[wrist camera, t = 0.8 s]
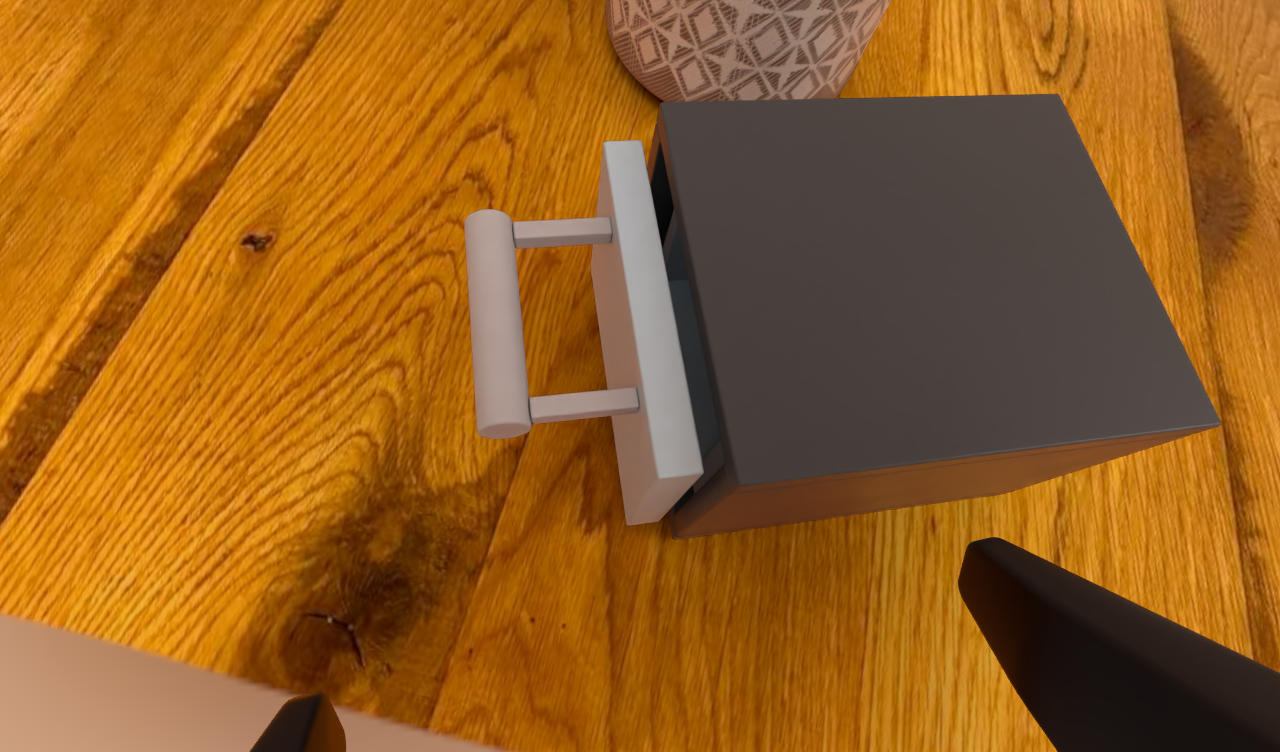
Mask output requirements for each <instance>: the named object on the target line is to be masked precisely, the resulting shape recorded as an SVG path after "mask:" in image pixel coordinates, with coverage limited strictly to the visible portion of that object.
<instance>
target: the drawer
mask: <svg viewBox="0 0 1280 752" xmlns="http://www.w3.org/2000/svg"><path fill="white" fill-rule="evenodd" d="M464 227H465V244H466V260H467V276H468V293H469V309H470V325H471V342H472V358H473V375H474V391H475V407H476V424H477V432H478V434H479V435H480V436H482V437H485V438H491V439H505V438H513V437H517V436H520V435H523V434H525V433H527V432H529V431H530V430H531V427H532V425H531V422H532V423H533V424H538V423H548V422H557V421H567V420H576V419H586V418H596V417H605V416H611V417H612V424H613V431H614V439H615V446H616V453H617V460H618V467H619V474H620V481H621V489H622V496H623V503H624V510H625V517H626V524H627V525H636V524H643V523H651V522H658V521H660V520H661V519H662V518H663V516H664V515H665V514H666V513H667V512H668V511H669V510H670V509H671V508H672V507H673V506H674V504H675V503H676V502H677V501H678V500H679V499H680V498H681V497H682V496H683V495H684V494H685V493H686V491H687V490H688V489H689V488H690V487H691V486H692V485H693V490H694V494H695V493H696V492H697V491H698V490H699V489H700V488H701V487H702V486H703V485H704V484H705V483H706V482H707V481H708V480H709V479H710V478H711V477H712V476H713V475H714V474H715V473H716V472H717V471H718V470H719V469H720V468H721V467H722V466H723V465H724V464H725V459H724V454H723V449H722V444H721V439H720V434H719V429H718V424H717V419H716V414H715V409H714V404H713V399H712V394H711V389H710V384H709V379H708V374H707V369H706V364H705V360H704V355H703V350H702V345H701V340H700V335H699V330H698V325H697V320H696V315H695V310H694V305H693V300H692V295H691V290H690V285H689V280H688V275H687V270H686V265H685V260H684V255H683V250H682V245H681V240H680V235H679V230H678V225H677V220H676V215H675V210H674V211H673V214H672V218H671V221H670V225H669V228H668V232H667V235H666V239H665V243H664V246H663V250H662V245H661V240H660V235H659V229H658V224H657V219H656V213H655V208H654V203H653V197H652V192H651V187H650V181H649V176H648V171H647V165H646V160H645V155H644V149H643V144H642V141H640V140H635V141H606V142H604V144H603V152H602V162H601V172H600V182H599V192H598V202H597V212H596V218H579V219H559V220H539V221H520V222H512V220H511V218H510V217H509V216H508V215H507V214H506V213H504V212H502V211H499V210H493V209H483V210H478V211H475V212H473V213H471V214H470V215H469V216H468V217H467V218H466V220H465V223H464ZM590 244H593V251H592V261H591V274H592V281H593V289H594V296H595V303H596V310H597V317H598V324H599V331H600V339H601V346H602V353H603V360H604V367H605V374H606V381H607V389H608V390H599V391H589V392H579V393H568V394H558V395H548V396H537V397H531V398H530V399H529V393H528V382H527V371H526V360H525V350H524V339H523V328H522V317H521V307H520V296H519V285H518V274H517V263H516V253H515V248H517V249H521V248H538V247H556V246H573V245H590Z"/></svg>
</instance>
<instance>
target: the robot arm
mask: <svg viewBox="0 0 1280 752" xmlns="http://www.w3.org/2000/svg"><path fill="white" fill-rule="evenodd" d="M958 587H959V591H960V594H961V597H962V599H963V601H964V602H965V604H966V606H967V607H968V609H969V611H970V613H971V614H972V616H973V618H974V620H975V621H976V623H977V625H978V627H979V628H980V630H981V632H982V634H983V635H984V637H985V639H986V640H987V642H988V644H989V646H990V647H991V649H992V651H993V653H994V654H995V656H996V658H997V660H998V661H999V663H1000V665H1001V667H1002V668H1003V670H1004V672H1005V673H1006V675H1007V677H1008V679H1009V680H1010V682H1011V684H1012V685H1013V687H1014V688H1015V690H1016V692H1017V693H1018V695H1019V696H1020V698H1021V699H1022V701H1023V702H1024V704H1025V705H1026V707H1027V708H1028V710H1029V711H1030V713H1031V714H1032V716H1033V717H1034V718H1035V720H1036V721H1037V723H1038V724H1039V725H1040V727H1041V728H1042V730H1043V731H1044V733H1045V734H1046V735H1047V737H1048V738H1049V740H1050V741H1051V743H1052V744H1053V745H1054V747H1055V748H1056V750H1057V751H1058V752H1280V673H1278V672H1276V671H1274V670H1272V669H1270V668H1268V667H1266V666H1264V665H1262V664H1260V663H1258V662H1256V661H1254V660H1252V659H1250V658H1247V657H1245V656H1243V655H1241V654H1239V653H1237V652H1235V651H1233V650H1231V649H1229V648H1227V647H1225V646H1223V645H1221V644H1218V643H1216V642H1214V641H1212V640H1210V639H1208V638H1206V637H1204V636H1202V635H1200V634H1198V633H1196V632H1194V631H1192V630H1189V629H1187V628H1185V627H1183V626H1181V625H1179V624H1177V623H1175V622H1173V621H1171V620H1169V619H1167V618H1165V617H1163V616H1161V615H1158V614H1156V613H1154V612H1152V611H1150V610H1148V609H1146V608H1144V607H1142V606H1140V605H1138V604H1136V603H1134V602H1132V601H1129V600H1127V599H1125V598H1123V597H1121V596H1119V595H1117V594H1115V593H1113V592H1111V591H1109V590H1107V589H1105V588H1103V587H1100V586H1098V585H1096V584H1094V583H1092V582H1090V581H1088V580H1086V579H1084V578H1082V577H1080V576H1078V575H1076V574H1074V573H1072V572H1069V571H1067V570H1065V569H1063V568H1061V567H1059V566H1057V565H1055V564H1053V563H1051V562H1049V561H1047V560H1045V559H1043V558H1040V557H1038V556H1036V555H1034V554H1032V553H1030V552H1028V551H1026V550H1024V549H1022V548H1020V547H1018V546H1016V545H1014V544H1012V543H1009V542H1007V541H1005V540H1003V539H1000V538H996V537H992V538H986V539H982V540H978V541H974V542H971V543H970V544H969V545H968V546H967V549H966V552H965V556H964V560H963V563H962V567H961V571H960V575H959V579H958ZM250 752H346V739H345V733H344V729H343V727H342V725H341V723H340V721H339V718H338V716H337V714H336V712H335V710H334V708H333V706H332V704H331V702H330V699H329V698H328V696H327V695H326V694H325V693H323V692H315V693H311V694H307V695H302V696H298V697H294V698H292V699H290V700H288V701H287V702H286V703H285V704H284V705H283V706H282V708H281V709H280V710H279V712H278V713H277V714H276V716H275V717H274V719H273V720H272V721H271V723H270V724H269V726H268V727H267V728H266V730H265V731H264V732H263V734H262V735H261V736H260V738H259V739H258V741H257V742H256V743H255V745H254V746H253V748H252V749H251V750H250Z"/></svg>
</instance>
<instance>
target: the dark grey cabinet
mask: <svg viewBox="0 0 1280 752" xmlns="http://www.w3.org/2000/svg"><path fill="white" fill-rule="evenodd" d="M647 171H648V176H649V181H650V187H651V192H652V197H653V203H654V208H655V213H656V219H657V224H658V229H659V235H660V240H661V245H662V250H663V246H664V243H665V239H666V235H667V232H668V228H669V225H670V221H671V218H672V214H673V211H674V210H675V215H676V220H677V225H678V230H679V235H680V240H681V245H682V250H683V255H684V260H685V265H686V270H687V275H688V280H689V285H690V290H691V295H692V300H693V305H694V310H695V315H696V320H697V325H698V330H699V335H700V340H701V345H702V350H703V355H704V360H705V364H706V369H707V374H708V379H709V384H710V389H711V394H712V399H713V404H714V409H715V414H716V419H717V424H718V429H719V434H720V439H721V444H722V449H723V454H724V459H725V464H724V465H723V466H722V467H721V468H720V469H719V470H718V471H717V472H716V473H715V474H714V475H713V476H712V477H711V478H710V479H709V480H708V481H707V482H706V483H705V484H704V485H703V486H702V487H701V488H700V489H699V490H698V491H697V492H696V493H695V494H694V490H693V485H692V486H691V487H690V488H689V489H688V490H687V491H686V493H685V494H684V495H683V496H682V497H681V498H680V499H679V500H678V501H677V502H676V503H675V504H674V506H673V507H672V508H671V509H670V510H669V511H668V514H669V520H670V526H671V532H672V538H673V539H674V540H678V539H685V538H692V537H699V536H706V535H713V534H721V533H728V532H735V531H742V530H749V529H756V528H763V527H771V526H778V525H785V524H792V523H799V522H806V521H814V520H821V519H828V518H835V517H842V516H849V515H857V514H864V513H871V512H878V511H885V510H892V509H900V508H907V507H914V506H921V505H928V504H935V503H942V502H950V501H957V500H964V499H971V498H978V497H985V496H993V495H1000V494H1005V493H1009V492H1012V491H1015V490H1018V489H1021V488H1024V487H1027V486H1031V485H1034V484H1037V483H1040V482H1043V481H1046V480H1050V479H1053V478H1056V477H1059V476H1062V475H1065V474H1069V473H1072V472H1075V471H1078V470H1081V469H1084V468H1088V467H1091V466H1094V465H1097V464H1100V463H1103V462H1107V461H1110V460H1113V459H1116V458H1119V457H1122V456H1126V455H1129V454H1132V453H1135V452H1138V451H1141V450H1145V449H1148V448H1151V447H1154V446H1157V445H1160V444H1164V443H1167V442H1170V441H1173V440H1176V439H1179V438H1183V437H1186V436H1189V435H1191V434H1194V433H1199V432H1202V431H1205V430H1208V429H1211V428H1215V427H1218V426H1219V425H1221V421H1220V419H1219V417H1218V415H1217V413H1216V411H1215V409H1214V407H1213V405H1212V403H1211V401H1210V399H1209V397H1208V395H1207V393H1206V391H1205V389H1204V387H1203V385H1202V383H1201V381H1200V379H1199V377H1198V375H1197V373H1196V371H1195V369H1194V367H1193V365H1192V363H1191V361H1190V359H1189V357H1188V355H1187V353H1186V351H1185V348H1184V346H1183V344H1182V342H1181V340H1180V338H1179V336H1178V334H1177V332H1176V330H1175V328H1174V326H1173V324H1172V322H1171V320H1170V318H1169V316H1168V314H1167V312H1166V310H1165V308H1164V306H1163V304H1162V302H1161V300H1160V298H1159V296H1158V294H1157V292H1156V290H1155V288H1154V286H1153V284H1152V282H1151V280H1150V278H1149V276H1148V274H1147V272H1146V270H1145V268H1144V265H1143V263H1142V261H1141V259H1140V257H1139V255H1138V253H1137V251H1136V249H1135V247H1134V245H1133V243H1132V241H1131V239H1130V237H1129V235H1128V233H1127V231H1126V229H1125V227H1124V225H1123V223H1122V221H1121V219H1120V217H1119V215H1118V213H1117V211H1116V209H1115V207H1114V205H1113V203H1112V201H1111V199H1110V197H1109V195H1108V193H1107V191H1106V189H1105V187H1104V185H1103V182H1102V180H1101V178H1100V176H1099V174H1098V172H1097V170H1096V168H1095V166H1094V164H1093V162H1092V160H1091V158H1090V156H1089V154H1088V152H1087V150H1086V148H1085V146H1084V144H1083V142H1082V140H1081V138H1080V136H1079V134H1078V132H1077V130H1076V128H1075V126H1074V124H1073V122H1072V120H1071V118H1070V116H1069V114H1068V112H1067V110H1066V108H1065V106H1064V104H1063V102H1062V99H1061V97H1060V95H1058V94H1031V95H982V96H934V97H885V98H837V99H789V100H740V101H692V102H661V103H660V106H659V111H658V116H657V123H656V126H655V131H654V136H653V141H652V146H651V151H650V156H649V161H648V166H647Z"/></svg>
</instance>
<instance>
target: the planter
mask: <svg viewBox="0 0 1280 752" xmlns="http://www.w3.org/2000/svg"><path fill="white" fill-rule="evenodd" d="M890 2H891V0H606V23H607V28H608V32H609V36H610V39H611V42H612V44H613V46H614V49H615V51H616V53H617V54H618V56H619V58H620V59H621V61H622V63H623V64H624V65H625V67H626V68H627V69H628V71H629V72H630V73H631V74H632V75H633V76H634V77H635V78H636V79H637V80H638V81H639V82H640V83H641V84H642V85H643V86H644V87H645V88H646V89H648V90H649V91H650V92H651V93H653V94H654V95H655V96H657V97H658V98H660V99H661V100H663V101H664V102H692V101H740V100H789V99H835V98H836V97H837V96H838V95H839V93H840V92H841V91H842V90H843V88H844V87H845V86H846V84H847V83H848V81H849V79H850V77H851V75H852V73H853V72H854V70H855V68H856V66H857V64H858V62H859V60H860V58H861V57H862V55H863V53H864V51H865V49H866V47H867V45H868V43H869V41H870V40H871V38H872V36H873V34H874V32H875V30H876V28H877V26H878V24H879V23H880V21H881V19H882V17H883V15H884V13H885V11H886V9H887V7H888V6H889V4H890Z"/></svg>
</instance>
